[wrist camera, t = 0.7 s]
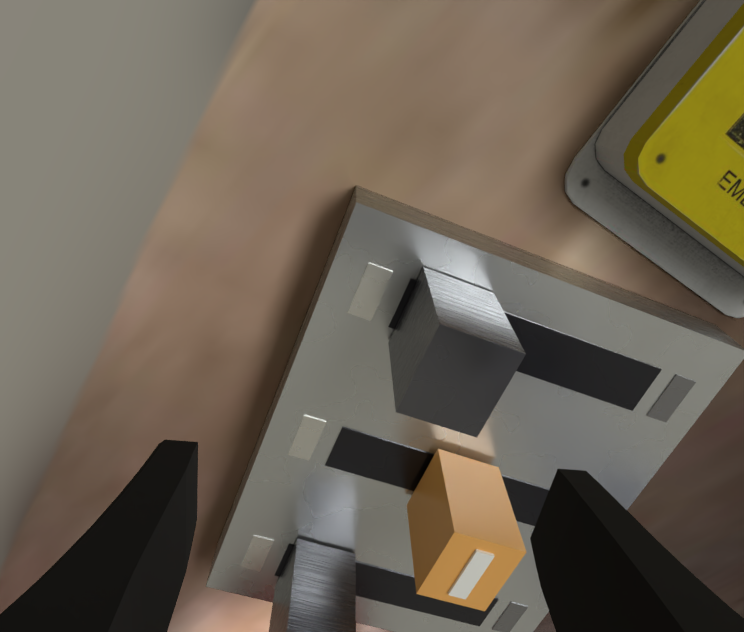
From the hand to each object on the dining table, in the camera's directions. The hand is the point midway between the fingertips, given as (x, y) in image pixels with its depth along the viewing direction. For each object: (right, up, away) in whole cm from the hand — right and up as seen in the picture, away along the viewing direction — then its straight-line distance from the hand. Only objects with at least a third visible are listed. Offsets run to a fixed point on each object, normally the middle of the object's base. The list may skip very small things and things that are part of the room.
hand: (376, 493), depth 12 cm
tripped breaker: (+3, -3, +10) cm, 10 cm away
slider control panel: (+3, -2, +12) cm, 12 cm away
